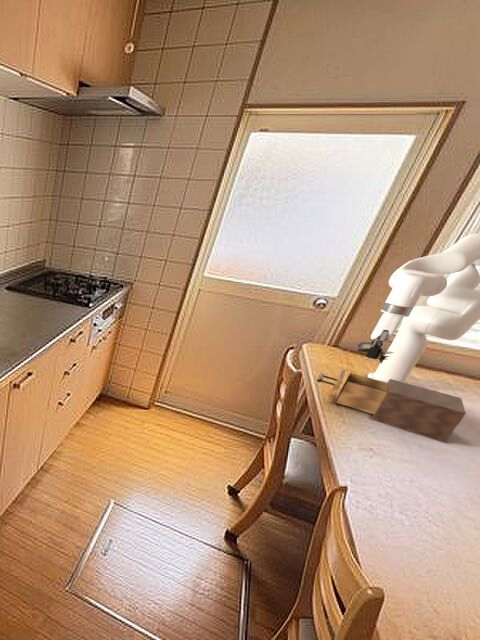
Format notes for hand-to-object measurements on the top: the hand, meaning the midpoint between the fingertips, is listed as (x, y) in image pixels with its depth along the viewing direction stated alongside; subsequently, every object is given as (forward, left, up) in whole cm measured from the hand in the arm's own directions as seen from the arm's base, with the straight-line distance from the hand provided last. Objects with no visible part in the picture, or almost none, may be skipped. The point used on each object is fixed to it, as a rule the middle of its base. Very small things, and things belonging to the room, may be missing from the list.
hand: (371, 354), depth 155 cm
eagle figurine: (+2, 0, -1) cm, 2 cm away
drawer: (+17, 0, -14) cm, 22 cm away
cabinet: (+17, +16, -15) cm, 27 cm away
